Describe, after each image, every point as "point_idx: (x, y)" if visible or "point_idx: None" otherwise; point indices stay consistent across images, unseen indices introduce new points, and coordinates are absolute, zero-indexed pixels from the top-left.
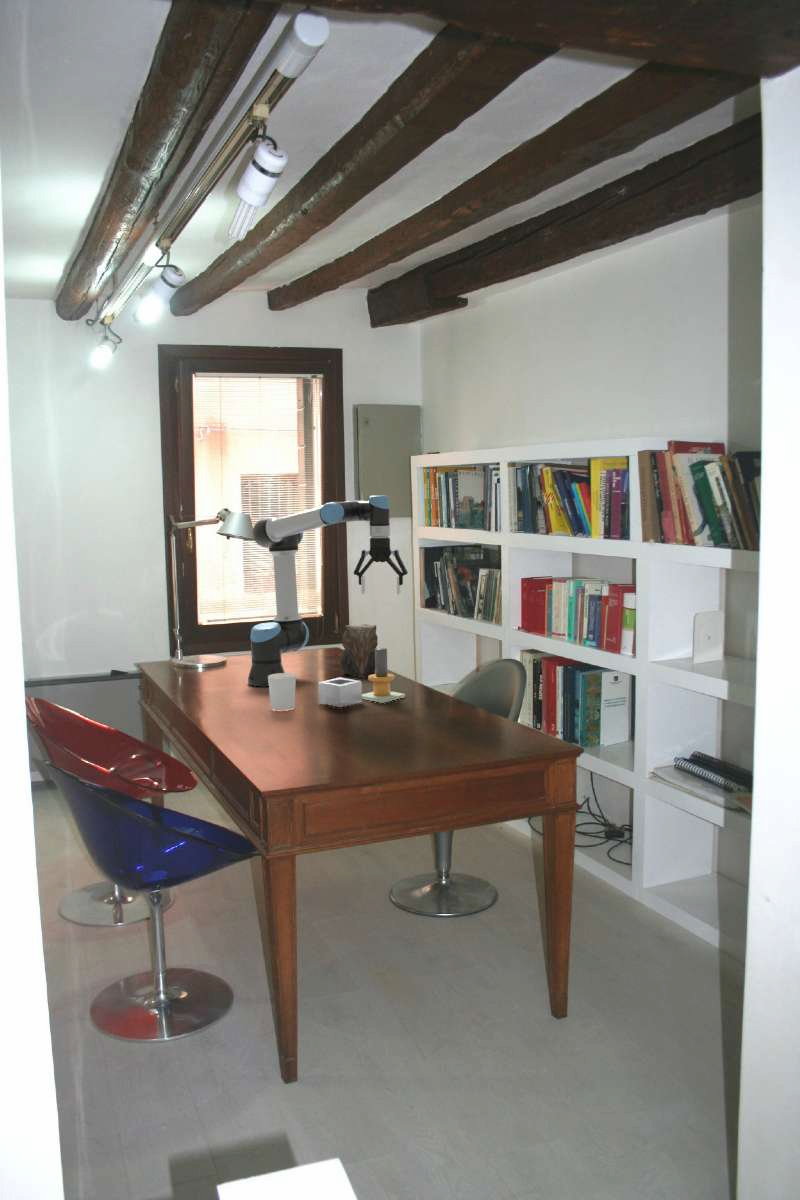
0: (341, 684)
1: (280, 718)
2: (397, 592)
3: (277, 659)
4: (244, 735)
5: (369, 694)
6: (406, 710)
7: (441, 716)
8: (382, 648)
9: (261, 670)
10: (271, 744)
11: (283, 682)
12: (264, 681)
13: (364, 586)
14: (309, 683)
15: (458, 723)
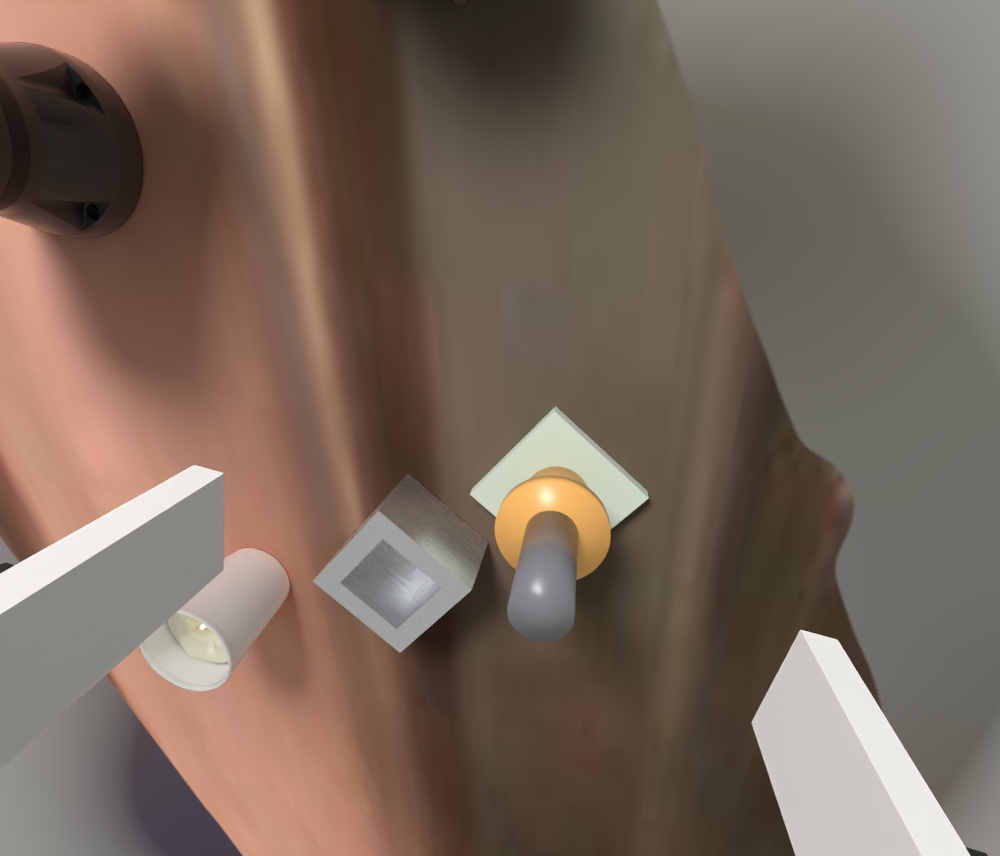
0: (401, 628)
1: (279, 669)
2: (769, 751)
3: (9, 175)
4: (244, 782)
5: (509, 488)
6: (633, 655)
7: (735, 737)
8: (549, 604)
9: (5, 217)
10: (318, 848)
11: (212, 679)
12: (67, 235)
13: (132, 570)
14: (238, 161)
15: (769, 809)
